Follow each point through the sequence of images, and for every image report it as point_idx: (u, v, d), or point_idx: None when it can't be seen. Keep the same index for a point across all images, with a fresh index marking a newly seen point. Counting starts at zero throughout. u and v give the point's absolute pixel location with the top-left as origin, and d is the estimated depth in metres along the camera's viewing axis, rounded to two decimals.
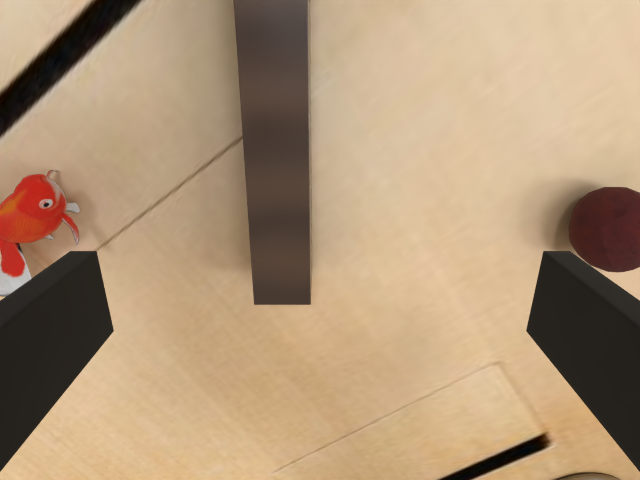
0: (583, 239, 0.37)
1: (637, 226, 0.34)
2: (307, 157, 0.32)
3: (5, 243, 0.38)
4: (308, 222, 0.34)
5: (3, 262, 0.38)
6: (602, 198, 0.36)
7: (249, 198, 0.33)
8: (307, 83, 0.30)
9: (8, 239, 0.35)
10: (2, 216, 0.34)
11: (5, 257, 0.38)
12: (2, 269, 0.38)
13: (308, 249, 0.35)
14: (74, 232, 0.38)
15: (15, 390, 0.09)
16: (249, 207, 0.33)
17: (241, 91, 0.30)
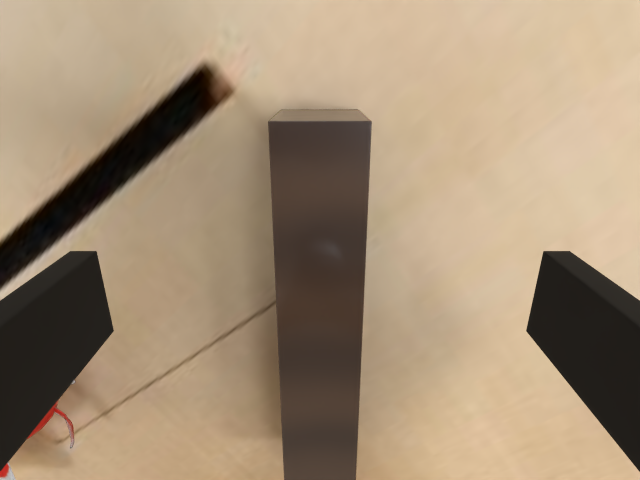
0: None
1: None
2: (358, 373, 0.26)
3: None
4: (356, 437, 0.28)
5: None
6: None
7: (284, 414, 0.27)
8: (362, 297, 0.24)
9: None
10: None
11: None
12: None
13: (354, 464, 0.28)
14: (68, 424, 0.31)
15: (15, 389, 0.09)
16: (284, 423, 0.27)
17: (278, 305, 0.24)
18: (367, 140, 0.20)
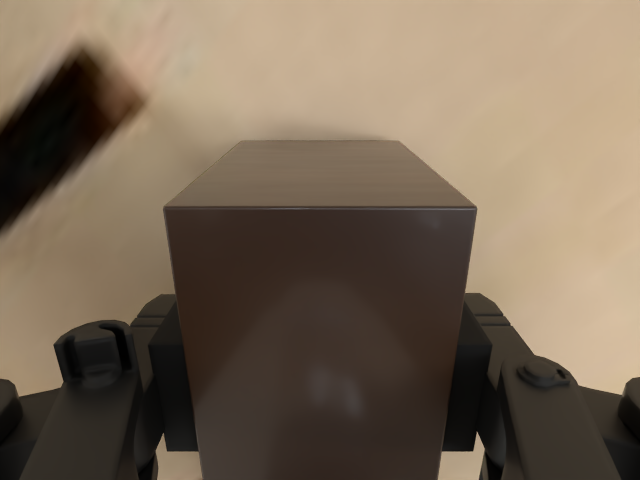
0: None
1: None
2: None
3: None
4: None
5: None
6: None
7: None
8: None
9: None
10: None
11: None
12: None
13: None
14: None
15: None
16: None
17: None
18: (462, 258, 0.07)
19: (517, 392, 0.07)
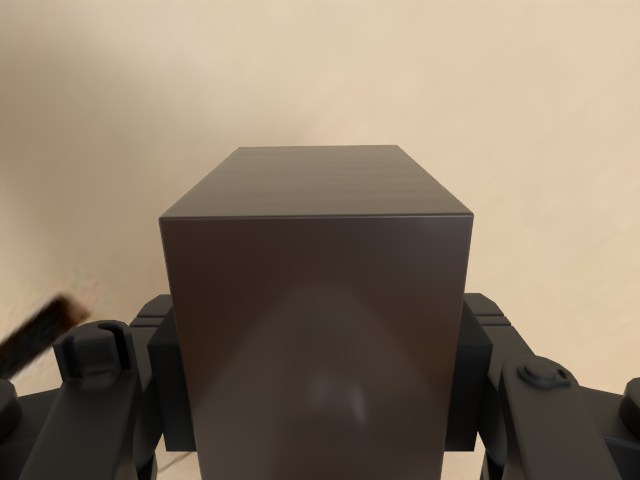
0: None
1: None
2: None
3: None
4: None
5: None
6: None
7: None
8: None
9: None
10: None
11: None
12: None
13: None
14: None
15: None
16: None
17: None
18: (459, 266, 0.07)
19: (519, 392, 0.07)
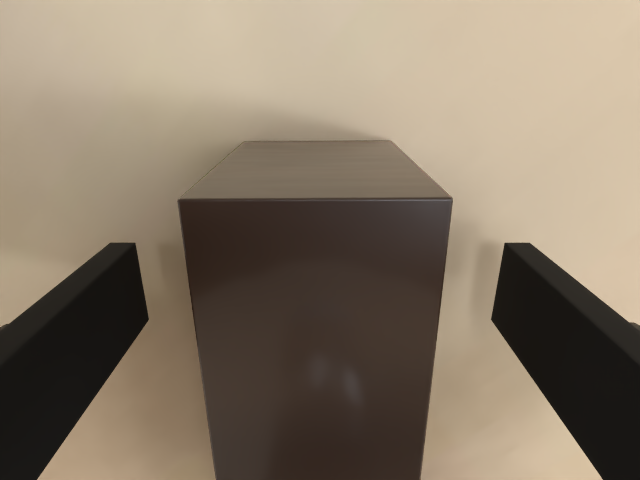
0: None
1: None
2: None
3: None
4: None
5: None
6: None
7: None
8: None
9: None
10: None
11: None
12: None
13: None
14: None
15: (72, 369, 0.09)
16: None
17: None
18: (439, 244, 0.08)
19: None
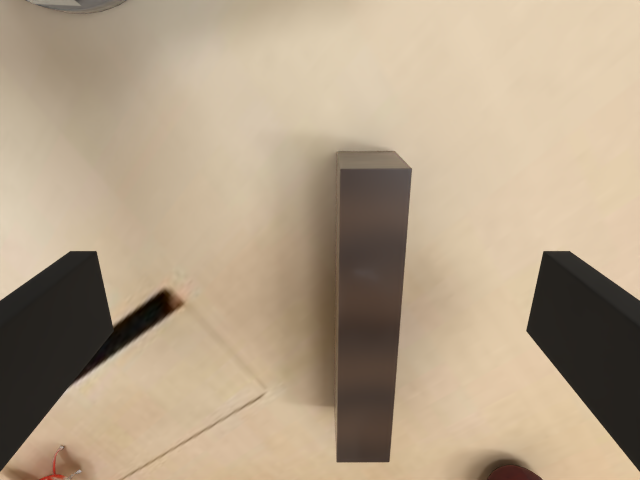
0: None
1: None
2: (396, 348, 0.34)
3: None
4: (393, 398, 0.36)
5: None
6: None
7: (339, 379, 0.36)
8: (401, 291, 0.33)
9: None
10: None
11: None
12: None
13: (391, 419, 0.37)
14: None
15: (15, 390, 0.09)
16: (339, 386, 0.36)
17: (340, 297, 0.33)
18: (408, 181, 0.29)
19: None
